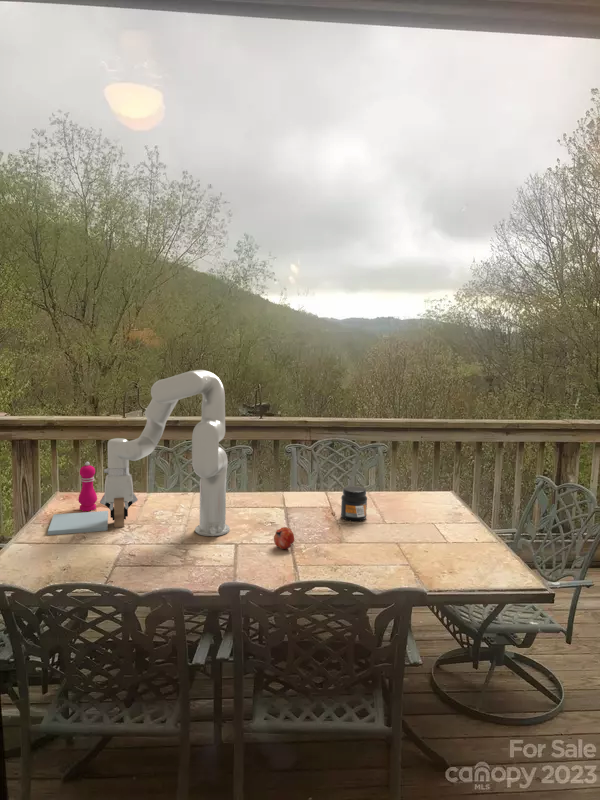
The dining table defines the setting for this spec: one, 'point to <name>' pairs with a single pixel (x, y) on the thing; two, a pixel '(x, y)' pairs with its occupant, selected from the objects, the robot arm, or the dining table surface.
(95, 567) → the dining table surface
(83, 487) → the pepper mill
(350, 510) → the supplement container
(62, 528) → the board
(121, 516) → the walnut slab
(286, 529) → the pomegranate
